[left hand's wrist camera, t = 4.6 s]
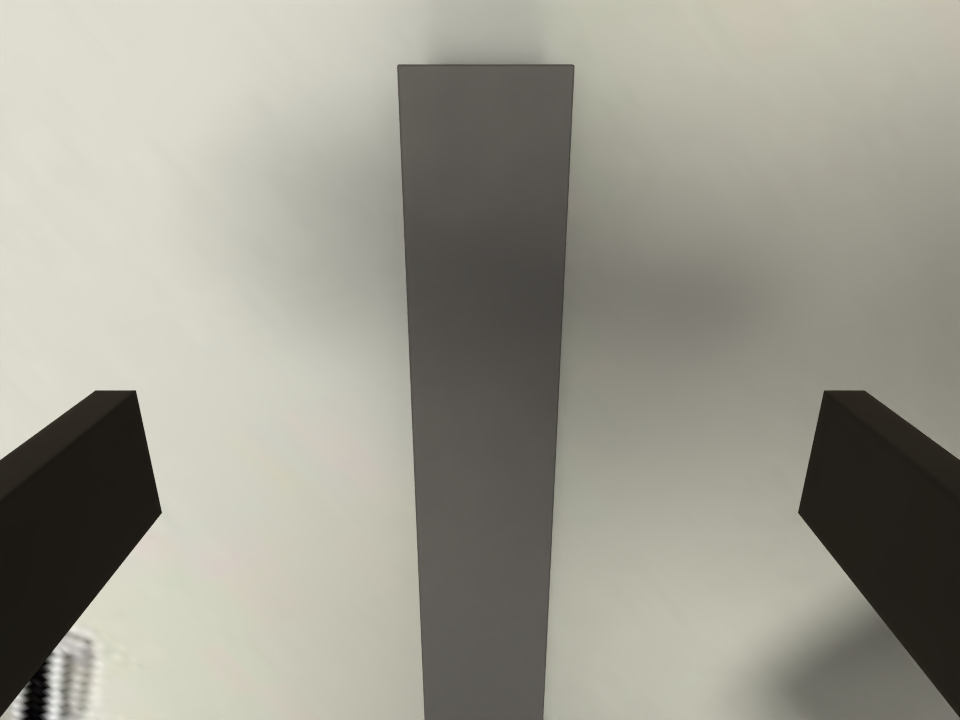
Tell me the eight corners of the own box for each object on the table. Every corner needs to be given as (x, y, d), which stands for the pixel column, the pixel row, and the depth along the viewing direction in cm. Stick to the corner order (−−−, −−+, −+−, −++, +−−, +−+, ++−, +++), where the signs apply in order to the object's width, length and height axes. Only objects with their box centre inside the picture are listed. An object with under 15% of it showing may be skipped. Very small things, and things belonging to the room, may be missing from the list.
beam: (421, 78, 26) (396, 64, 18) (548, 78, 25) (574, 64, 18) (447, 930, 45) (440, 1088, 38) (518, 931, 45) (525, 1088, 38)
